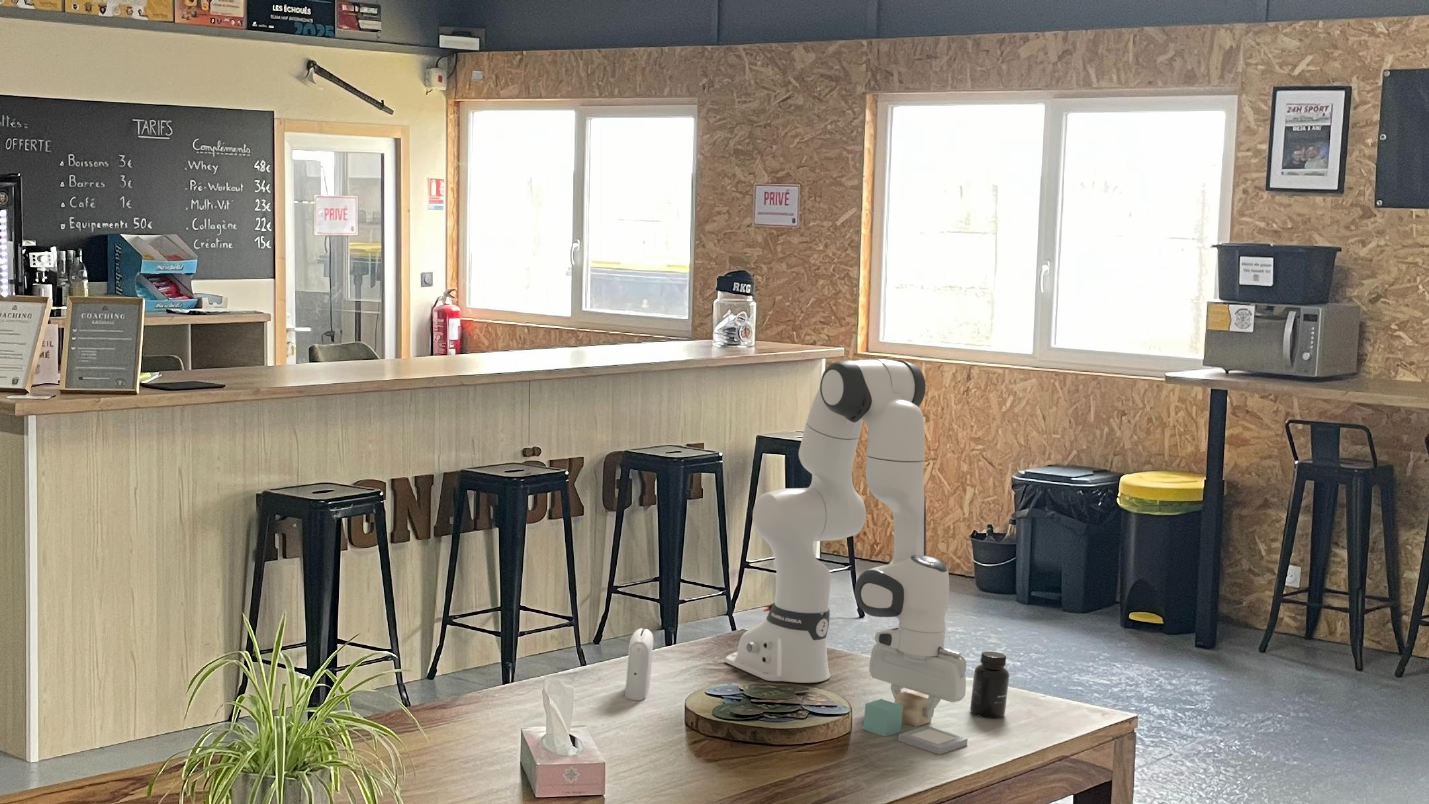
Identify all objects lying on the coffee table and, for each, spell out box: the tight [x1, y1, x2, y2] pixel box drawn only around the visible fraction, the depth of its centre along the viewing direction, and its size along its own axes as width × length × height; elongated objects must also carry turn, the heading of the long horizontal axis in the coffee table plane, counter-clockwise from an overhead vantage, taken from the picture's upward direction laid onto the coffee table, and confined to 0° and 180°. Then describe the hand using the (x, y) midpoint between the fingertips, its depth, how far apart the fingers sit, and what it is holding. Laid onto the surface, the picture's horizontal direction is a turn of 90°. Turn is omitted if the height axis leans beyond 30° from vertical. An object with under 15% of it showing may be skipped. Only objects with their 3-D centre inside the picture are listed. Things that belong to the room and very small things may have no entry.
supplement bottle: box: [969, 650, 1010, 719], centre depth 310 cm, size 7×7×12 cm
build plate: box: [898, 725, 968, 755], centre depth 290 cm, size 9×9×1 cm
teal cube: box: [862, 698, 903, 737], centre depth 295 cm, size 5×5×5 cm
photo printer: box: [624, 628, 654, 701], centre depth 305 cm, size 10×4×12 cm, turn 177°
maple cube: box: [896, 689, 932, 727], centre depth 302 cm, size 5×5×5 cm
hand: (913, 712), depth 302 cm, fingers closed on maple cube, 5 cm apart
